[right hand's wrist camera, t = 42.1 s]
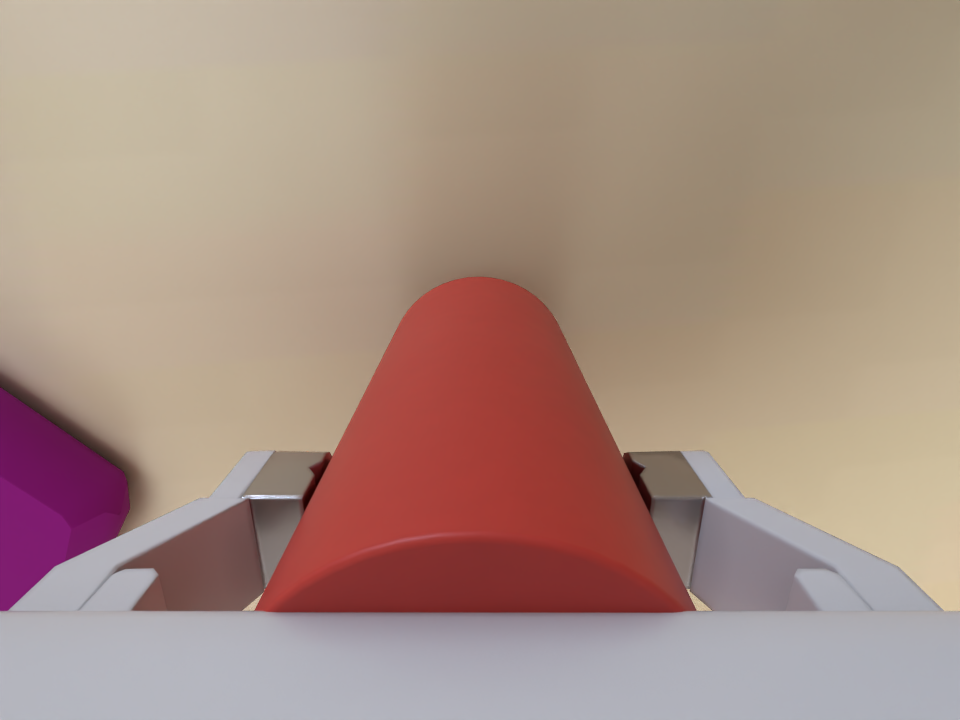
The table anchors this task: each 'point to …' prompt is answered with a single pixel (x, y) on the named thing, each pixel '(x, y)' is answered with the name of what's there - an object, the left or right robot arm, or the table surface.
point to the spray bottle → (50, 498)
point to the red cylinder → (477, 480)
